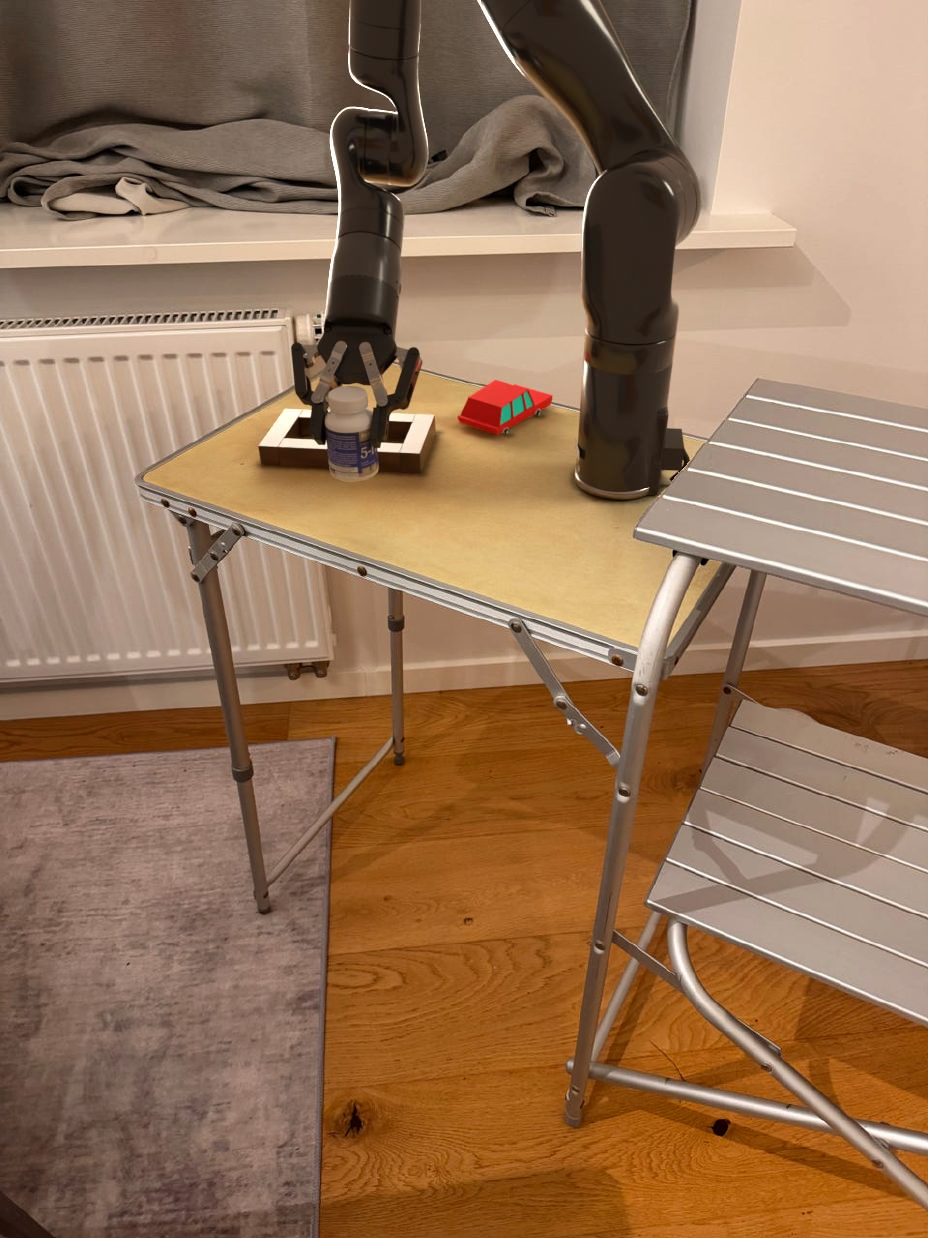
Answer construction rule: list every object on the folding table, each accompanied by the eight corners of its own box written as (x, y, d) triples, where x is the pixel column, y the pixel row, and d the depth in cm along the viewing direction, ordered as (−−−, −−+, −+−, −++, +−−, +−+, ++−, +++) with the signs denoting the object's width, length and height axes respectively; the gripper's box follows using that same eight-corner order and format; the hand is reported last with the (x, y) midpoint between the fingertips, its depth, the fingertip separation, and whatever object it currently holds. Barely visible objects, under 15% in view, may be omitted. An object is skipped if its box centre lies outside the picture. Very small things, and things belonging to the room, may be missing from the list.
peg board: (435, 433, 113) (434, 414, 112) (420, 473, 104) (419, 453, 103) (287, 426, 115) (284, 408, 114) (261, 465, 107) (257, 445, 105)
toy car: (553, 408, 119) (555, 378, 116) (498, 440, 111) (498, 409, 109) (513, 396, 122) (514, 367, 120) (457, 426, 115) (456, 396, 112)
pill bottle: (371, 485, 95) (364, 405, 89) (323, 481, 95) (314, 401, 90) (384, 462, 99) (379, 384, 93) (339, 458, 100) (330, 381, 94)
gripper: (287, 269, 92) (268, 428, 90) (425, 273, 91) (410, 435, 89) (307, 304, 100) (290, 452, 98) (435, 309, 98) (421, 459, 96)
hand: (347, 443), depth 93 cm, fingers closed on pill bottle, 5 cm apart
